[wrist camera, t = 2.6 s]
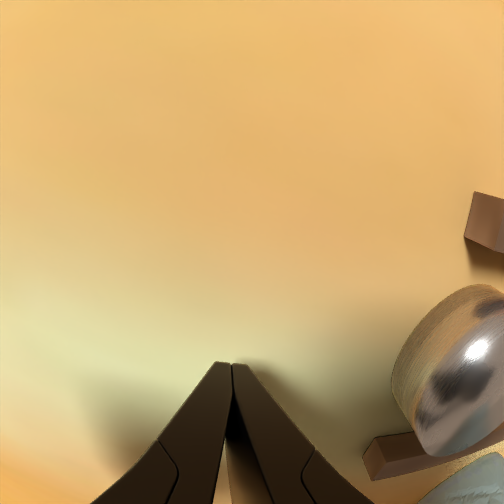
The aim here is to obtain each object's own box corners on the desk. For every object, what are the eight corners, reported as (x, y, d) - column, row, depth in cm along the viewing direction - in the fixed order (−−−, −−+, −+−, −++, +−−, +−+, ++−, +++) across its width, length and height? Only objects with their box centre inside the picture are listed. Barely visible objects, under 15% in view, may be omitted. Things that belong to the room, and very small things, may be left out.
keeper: (466, 399, 11) (495, 438, 8) (367, 413, 11) (392, 470, 8) (520, 288, 9) (565, 318, 7) (426, 275, 9) (484, 318, 6)
